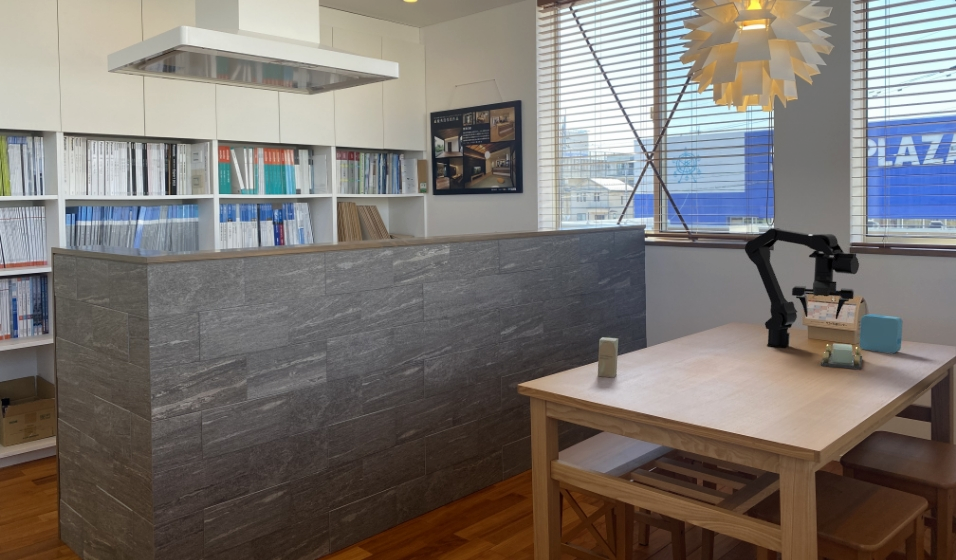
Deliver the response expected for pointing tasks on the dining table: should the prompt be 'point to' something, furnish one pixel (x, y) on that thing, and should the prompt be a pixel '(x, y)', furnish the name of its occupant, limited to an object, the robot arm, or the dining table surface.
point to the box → (608, 357)
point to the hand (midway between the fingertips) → (821, 317)
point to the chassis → (854, 365)
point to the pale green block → (842, 353)
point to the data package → (881, 333)
